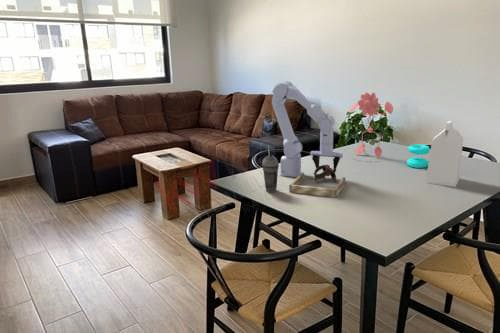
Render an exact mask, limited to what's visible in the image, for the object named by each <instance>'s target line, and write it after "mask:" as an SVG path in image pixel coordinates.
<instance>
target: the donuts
mask: <svg viewBox="0 0 500 333" xmlns="http://www.w3.org/2000/svg"><path fill="white" fill-rule="evenodd" d="M407 150H408V152H409V153H410V154H413V155H416V157H415V156H414V157H410V158H408V159H407V160H406V164H407V166H409V167H412V168H415V169H424V168H428V164H429V159H426V158H424V157H418V156H417V155H419V156H423V155H427V154H430V150H431V147H430V146H428V145H426V144H418V143H417V144H410V145H409V146H408V147H407Z"/></svg>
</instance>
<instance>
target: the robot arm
mask: <svg viewBox="0 0 500 333" xmlns="http://www.w3.org/2000/svg"><path fill="white" fill-rule="evenodd" d="M287 98H288V99H293V100H295V101H297V103H298V104H300V105H301V106H302V107H303V108H304V109H306V112H307V115H308V116H309V117H310V118H311V119H312V120H313V121H314V122H316V124H317V125H318V127H319V130H320V133H319V135H320V137H319V142H320V143H319V150H311V151H310V153H309V154H310V157H311V159H312V161H313V164H314V166H315V170H316V169H317V168H318V167H319V166H320V159H321V157H325V158H333V159H332V161H333V162H332V163H333V168H332V169H333V171H334V172H335V173H336V172H337V167H338V165H339V163H340V161H341V159H343V157H344V155H343V154H344V153H343V152H336V151H334V126H335V123H336V122H335V119H334V117H333V116H332V115H329V114H328V113H327V112H325V111H324V110H323V109H322V108H321V107H322V106H321V105H318V104H313V103H312V102H311V101H310V100H309V99H308V97H306V96H305V95H304V94H303V92H301V91H300V90H299V89H298V88H297V86H296V85H294V84H293V83H292V82H291V81H290V80H289V81H288V80H286V81H283V82H279V83H276V84H275V86H274V88H273V89H272V97H271V106H272V109H273V111H274V114H275V117H276V120H277V123H278V126H279V128H280V132H281V134H282V137H283V143H282V145H283V153H284V155H282V156H281V158H280V164H279V165H280V174H279V175H280V176H283V177H284V176H285V177H291V178H292V177H293V178H297V177H298V176H299V175H300V174H301V173H304V172H305V171H303V170H302V155H301V153H302V151H303V144H302V143H301V142H300V140H299V138H298V137H297V136H296V134H295V133H294V130H293V127H292V124H291V121H290V118H289V115H288V112H287V109H286V106H285V103H286V100H287Z"/></svg>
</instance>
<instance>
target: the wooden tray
mask: <svg viewBox="0 0 500 333" xmlns="http://www.w3.org/2000/svg"><path fill="white" fill-rule="evenodd" d="M304 176H305V174H304V173H301V174H300V175H299V176H298V177H295V179H294V180H293V181H292V182H291V183H290V184H289V185H288V186H289V188H288V190H289V193H296V194H297V193H298V194H304V195H313V196H321V197H322V196H323V197H330V198H337V197H338V195H339V194H340V192H341V191H342V190H343V188H344V186H345V185H346V177H345V176H343V177H342V178H341V179H340V181H339V182H338V184H337V185H336V187H335V188H325V187H319V186H318V187H315V186H308V185H300V184H301V183H302V182H303V181H304V180H305V179H304Z"/></svg>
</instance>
